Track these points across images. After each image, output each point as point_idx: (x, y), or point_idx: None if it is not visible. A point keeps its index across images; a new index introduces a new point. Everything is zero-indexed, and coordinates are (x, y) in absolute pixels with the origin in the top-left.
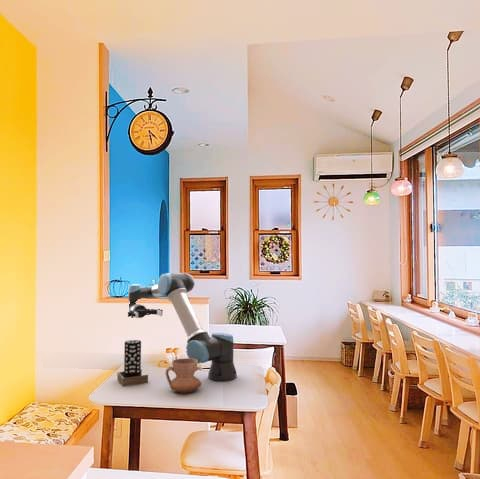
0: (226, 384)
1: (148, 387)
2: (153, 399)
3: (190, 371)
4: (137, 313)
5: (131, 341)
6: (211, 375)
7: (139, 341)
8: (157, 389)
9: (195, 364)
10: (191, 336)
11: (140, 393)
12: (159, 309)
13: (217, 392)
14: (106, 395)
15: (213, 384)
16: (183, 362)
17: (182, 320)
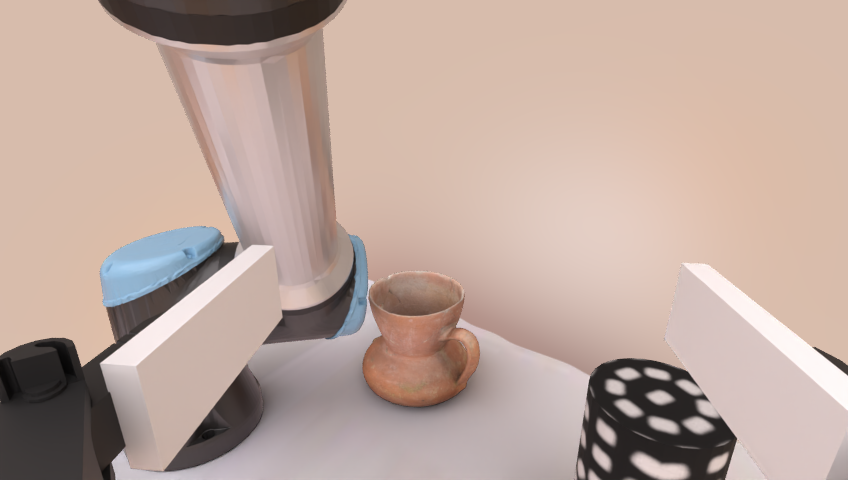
0: (271, 364)
1: (532, 468)
2: (539, 369)
3: (417, 298)
4: (696, 271)
5: (674, 409)
6: (259, 400)
7: (602, 383)
8: (502, 430)
9: (397, 279)
10: (346, 233)
11: (575, 426)
12: (58, 349)
13: (349, 336)
14: (727, 472)
15: (301, 380)
16: (400, 326)
17: (333, 184)
